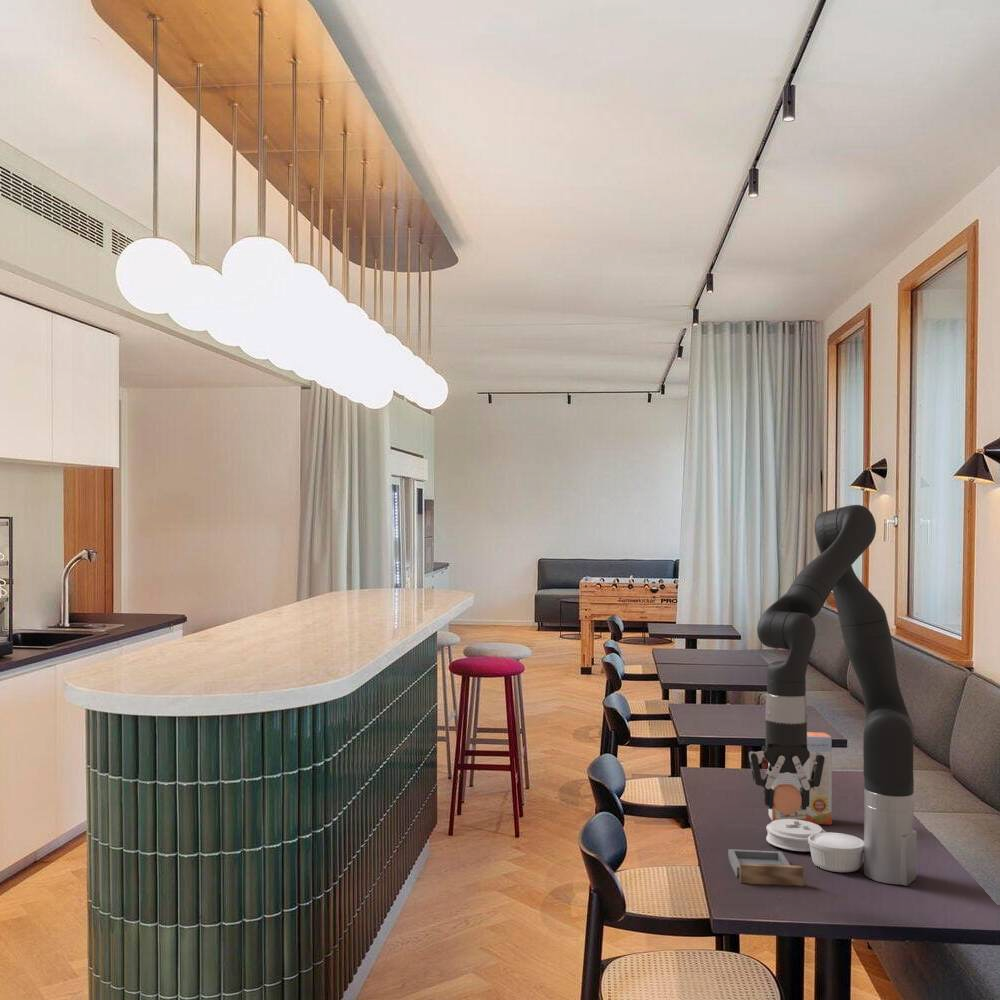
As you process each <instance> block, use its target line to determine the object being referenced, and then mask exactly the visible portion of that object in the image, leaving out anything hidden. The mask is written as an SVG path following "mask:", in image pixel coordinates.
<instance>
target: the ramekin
mask: <svg viewBox="0 0 1000 1000" xmlns="http://www.w3.org/2000/svg"><path fill="white" fill-rule="evenodd" d="M808 843H809V844H810V851H809V852H810V855H811V860H812V862H813V864H814V865H815V866H816V867H817V866H818V868H819V867H820V869H822V870H826V871H829V872H834V873H851V872H852V873H853V872H856V871H858V870H859V869H860V868H861V867H862V864H863V860H864V839H861V838H860V837H857V836H854V835H851V834H847V833H841V832H840V833H839V832H826V833H816V834H812V835H810V836H809V837H808Z"/></svg>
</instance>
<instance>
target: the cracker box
mask: <svg viewBox="0 0 1000 1000" xmlns="http://www.w3.org/2000/svg"><path fill="white" fill-rule="evenodd" d="M832 739H833V738H832V736H831V735H830V734H828V733H827V732H822V731H821V732H816V731H815V732H814V731H807V748H808V750H809V752H811V753H820V754H821V755H823V756H824V758H825V760H824V765H823V771H822V776H821V781H820V786H819V787H813V788H811V789H810V804H809V807H806V810H802V809H801V808H799V810H798V811H797V812H795V813H793V814H782V813H780V812H779V811H777V810H776V809H775V808H774V806H773V809H768V817H769V819H770V820H771V822H772V821H775V820H780V819H796V820H803V821H808V822H811V823H814V824H817V825H827V826H828V825H830V826H831V825H832V824H833V823H832V821H833V805H832V804H833V800H832V799H833V795H832V794H833V793H832V792H833V791H832V789H833V787H832V786H833V776H832V775H833V771H832V770H833V768H832V767H833V766H832V765H833V762H832V760H833V759H832V757H833V756H832V753H833V750H832V749H833V747H832V743H833V742H832V741H833V740H832ZM767 762H768V761H767ZM768 767H769V762H768V766H767V768H768ZM812 767H813V764H812V763H811V759H810V758H809V759H808V760H807V761H806V763H805V764H804V765H803V767H802V768H803V770H804V772H805V775H806V778H807V780H809V779H810V778H811V773H812ZM775 772H776V771H775ZM783 783H788V784H791V785H793V786H795V787H796V788H797V789H798V790H799V792H800V787H801V784H800V782H799V780H798V777H797V775H796V774H795V773H789V772H786V773H778V776H777V778H776V779H775V780H774V783H773V785H772V787H771V788H772V789H774V788H775V787H776V786H777V785H779V784H783Z"/></svg>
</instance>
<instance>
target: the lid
mask: <svg viewBox="0 0 1000 1000" xmlns="http://www.w3.org/2000/svg"><path fill="white" fill-rule="evenodd" d="M765 827H766V831H767V835H766V836H765V838H766V842H768V844H770V845H773V846H774V847H776V848H777V847H778V848H781V849H784V850H788V851H796V852H811V851H810V844H809V843H808V837H809V836H810V835H812V834H816V833H827V831H826V830H824V829H823V828H822V827H821V825H820V824H814V823H811V822H808V821H803V820H796V819H780V820H775V821H772V820H771V821H770V823H768V824H767V825H766V826H765Z"/></svg>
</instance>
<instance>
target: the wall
mask: <svg viewBox="0 0 1000 1000" xmlns="http://www.w3.org/2000/svg"><path fill="white" fill-rule="evenodd" d="M739 883H740V884H751V885H753V884H754V885H769V884H775V885H774V886H790V885H803V886H804V867H803V865H791V864H790V865H773V864H751V863H740V878H739ZM776 884H777V885H776Z"/></svg>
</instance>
